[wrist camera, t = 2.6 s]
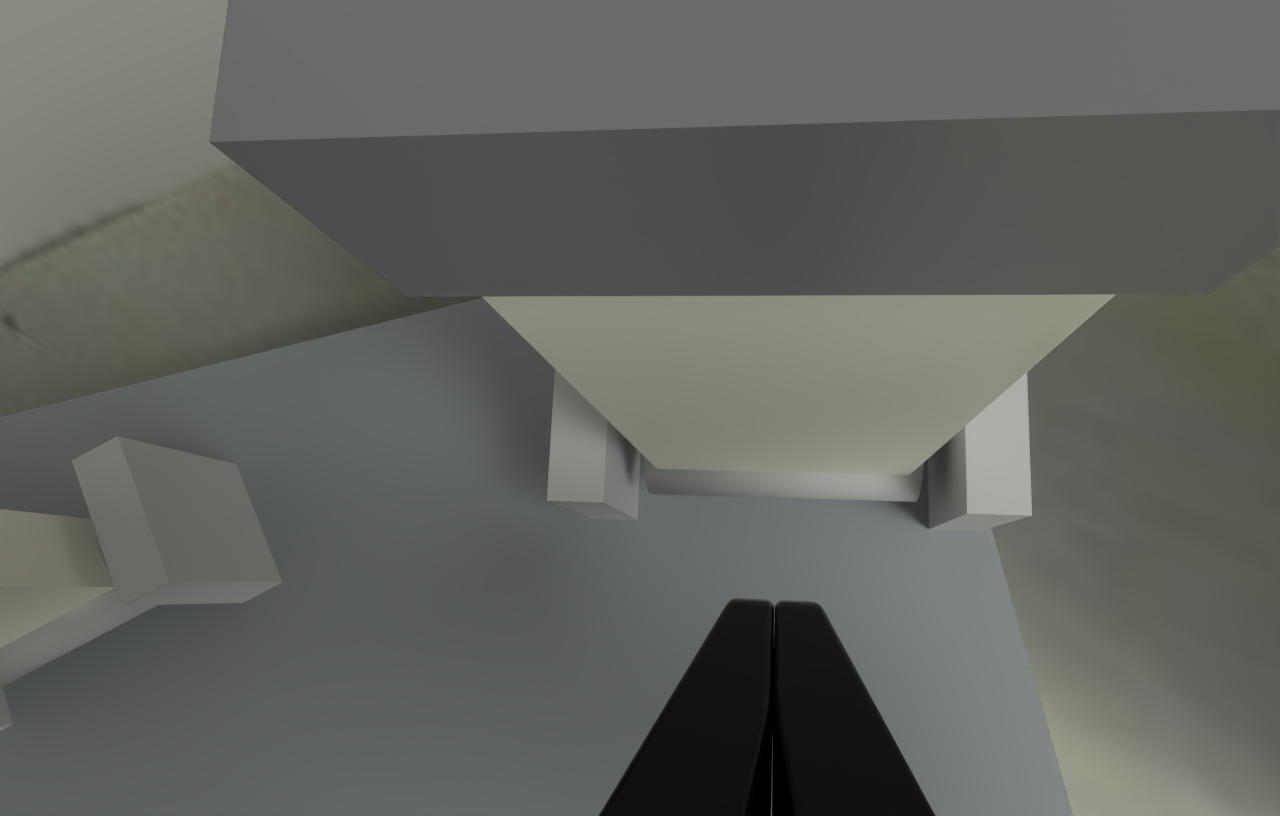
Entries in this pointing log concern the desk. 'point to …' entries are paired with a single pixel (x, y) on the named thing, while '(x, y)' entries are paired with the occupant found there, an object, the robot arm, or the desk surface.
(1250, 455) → the desk surface
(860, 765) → the robot arm
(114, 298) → the desk surface
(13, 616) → the switch
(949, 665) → the grey base plate
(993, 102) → the switch
